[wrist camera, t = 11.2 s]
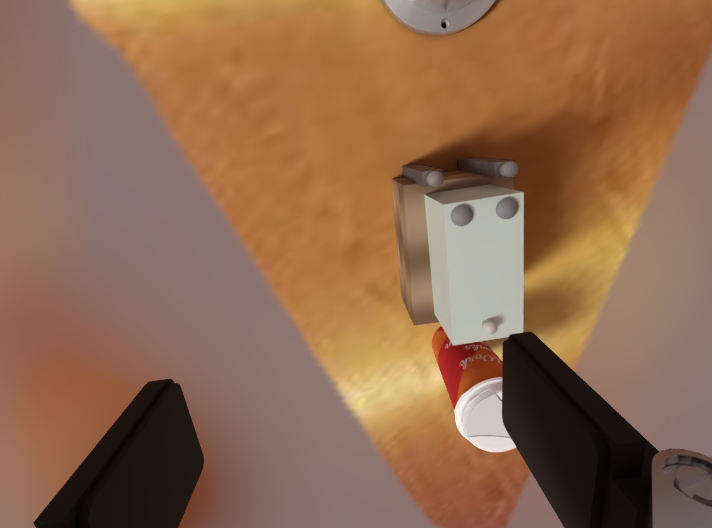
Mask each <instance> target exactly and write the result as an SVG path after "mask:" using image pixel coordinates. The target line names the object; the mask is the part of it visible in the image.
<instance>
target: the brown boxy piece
mask: <svg viewBox="0 0 712 528" xmlns="http://www.w3.org/2000/svg"><path fill="white" fill-rule="evenodd" d="M402 171H403V178H395V179H392V186H393V198H394V210H395V222H396V233H397V245H398V257H399V269H400V281H401V293H402V299H403V301H404V304H405V306H406V308H407V311H408V313H409V315H410V318H411V320H412V322H413V325H421V324H429V323H436V322H439V321H438V319H437V317H436V316H435V314H434V302H433V290H432V278H431V267H430V255H429V243H428V232H427V220H426V208H425V196H424V194H430V193H437V192H443V191H450V190H456V189H462V188H469V187H475V186H482V185H488V184H492V185H496V186H500V187H505V188H509V189H513V190H514V180H515V175H516V174H517V172H518V165H517V164H516V163H515V160H506V159H492V158H477V157H470V158H462V159H458V171H451V172H443V173H442V169H438V168H433V167H428V166H423V165H419V164H414V165H406V166H402Z"/></svg>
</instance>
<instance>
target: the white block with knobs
mask: <svg viewBox="0 0 712 528" xmlns="http://www.w3.org/2000/svg"><path fill="white" fill-rule="evenodd" d="M424 196H425V208H426V220H427V232H428V243H429V255H430V267H431V278H432V290H433V302H434V314H435V316H436V317H437V319H438V321H439V322H440V324H441V326H442V328H443V329H444V331H445V333H446V334H447V336H448V338H449V340H450V341H451V343H452V345H453V346H454V345H460V344H467V343H473V342H479V341H486V340H492V339H499V338H505V337H509V335H511V334H516V333H523V284H524V192H521V191H517V190H513V189H509V188H505V187H500V186H496V185H492V184H488V185H482V186H475V187H469V188H462V189H456V190H450V191H443V192H437V193H430V194H424Z"/></svg>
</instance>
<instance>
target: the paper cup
mask: <svg viewBox="0 0 712 528" xmlns="http://www.w3.org/2000/svg"><path fill="white" fill-rule="evenodd" d="M432 347H433V351H434V354H435V357H436V360H437V363H438V366H439V368H440V371H441V374H442V377H443V380H444V382H445V385H446V388H447V391H448V393H449V396H450V399H451V402H452V404H453V407H454V411H455V421H456V425H457V428H458V430H459V431H460V433H461V434H462V435H463V436H464V437H465V438H466V439H468V440H469V441H470V442H471V443H472V444H473V445H475V446H476V447H478V448H480V449H482V450H485V451H489V452H503V451H508V450H511V449H514V448H516V446H515V444H514V442H513V441H512V439H511V437H510V436H509V434H508V432H507V431H506V429H505V426H504V424H503V420H502V372H503V362H502V361H501V360H500V358H499V357H498V356H497V355H496V354H495V353H494V352H493V351H492V350H491V349H490V347H489V346H488V345H487V344H486V343H485V342H484V341H479V342H473V343H467V344H460V345H454V346H453V345H452V343H451V341H450V340H449V338H448V336H447V334H446V333H445V331H444V329H443V328H442V326H441V327H440V328H439V329H438V330H437V331H436V333H435V334H434V336H433V340H432Z"/></svg>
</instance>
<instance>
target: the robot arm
mask: <svg viewBox="0 0 712 528" xmlns="http://www.w3.org/2000/svg"><path fill="white" fill-rule="evenodd" d="M381 1H382V2H383V4H384V5H385V7H386V8H387V10H388V11H389V13H390V14H391V15H392V16H393V17H394V18H395V19H396V20H397V21H398V22H399V23H400V24H402V25H403V26H405V27H406V28H408V29H409V30H411V31H414V32H416V33H419V34H422V35H428V36H447V35H450V34H454V33H457V32H460V31H462V30H463V29H465V28H467V27H469V26H471V25H472V24H473V23H474V22H476V21H477V20H478V19H480V18H481V17H482V16H483V15H484V14H485V13H486V12H487V11H488V10H489V9H490V7H491V6H492V5H493V3H494V2H495V1H496V0H381ZM442 23H443V24H445V28H442V26H441V24H442ZM502 420H503V424H504V426H505V429H506V431H507V432H508V434H509V436H510V437H511V439H512V441H513V442H514V444H515V446H516V447H517V449H518V451H519V452H520V454H521V456H522V457H523V459H524V461H525V462H526V464H527V466H528V467H529V469H530V471H531V472H532V474H533V476H534V477H535V479H536V481H537V482H538V484H539V486H540V487H541V489H542V491H543V492H544V494H545V496H546V497H547V499H548V501H549V502H550V504H551V506H552V507H553V509H554V511H555V512H556V514H557V516H558V518H559V519H560V521H561V523H562V524H563V526H564V527H565V528H712V458H711V457H708V456H705V455H703V454H700V453H697V452H693V451H689V450H684V449H667V450H662V451H660V452H659V451H658V450H657V449H656V448H655V447H654V446H653V445H651V444H650V443H649V442H648V441H647V440H646V439H645V438H644V437H643V436H642V435H641V434H640V433H639V432H638V431H637V430H636V429H635V428H633V427H632V426H631V425H630V424H629V423H628V422H627V421H626V420H625V419H624V418H623V417H621V415H619V413H618V412H617V411H615V410H614V409H613V408H612V407H611V406H610V405H609V404H608V403H607V402H606V401H605V400H604V399H603V398H602V397H601V396H600V395H599V394H598V393H596V392H595V391H594V390H593V389H592V388H591V387H590V386H589V385H588V384H587V383H586V382H585V381H583V379H581V378H580V377H579V376H578V375H577V374H576V373H575V372H574V371H573V370H572V369H571V368H570V367H569V366H568V365H566V364H565V363H564V362H563V361H562V360H561V359H560V358H559V357H558V356H557V355H556V354H555V353H554V352H553V351H552V350H551V349H550V348H548V347H547V346H546V345H545V344H544V343H543V342H542V341H541V340H540V339H539V338H538V337H537V336H536V335H535V334H534V333H532V332H524V333H516V334H511V335H509V338H508V340H505V341H504V342H503V372H502ZM203 464H204V457H203V453H202V450H201V447H200V444H199V441H198V438H197V435H196V432H195V429H194V425H193V422H192V419H191V416H190V413H189V410H188V407H187V404H186V402H185V399H184V395H183V392H182V389H181V387H180V385H179V384H178V383H174V381H173V380H171V379H165V380H157V381H151V382H148V383H147V384H146V385H145V386H144V387H143V388H142V390H141V391H140V392H139V393H138V394H137V396H136V397H135V398H134V400H133V401H132V402H131V403H130V404H129V406H128V407H127V408H126V410H125V411H124V412H123V413H122V414H121V416H120V417H119V418H118V419H117V420H116V422H115V423H114V424H113V425H112V427H111V428H110V429H109V430H108V432H107V433H106V434H105V435H104V436H103V438H102V439H101V440H100V441H99V443H98V444H97V445H96V446H95V448H94V449H93V450H92V451H91V452H90V454H89V455H88V456H87V457H86V459H85V460H84V461H83V462H82V464H81V465H80V466H79V467H78V469H77V470H76V471H75V472H74V473H73V475H72V476H71V477H70V478H69V480H68V481H67V482H66V484H65V485H64V486H63V487H62V488H61V490H60V491H59V492H58V493H57V495H56V496H55V497H54V498H53V499H52V501H51V502H50V503H49V504H48V505H47V507H46V508H45V509H44V510H43V512H42V513H41V514H40V515H39V517H38V518H37V519H36V520H35V522H34V525H35V527H36V528H178V526H179V524H180V522H181V519H182V517H183V515H184V512H185V510H186V507H187V505H188V502H189V500H190V498H191V495H192V493H193V491H194V488H195V486H196V483H197V481H198V479H199V476H200V474H201V472H202V469H203Z"/></svg>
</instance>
